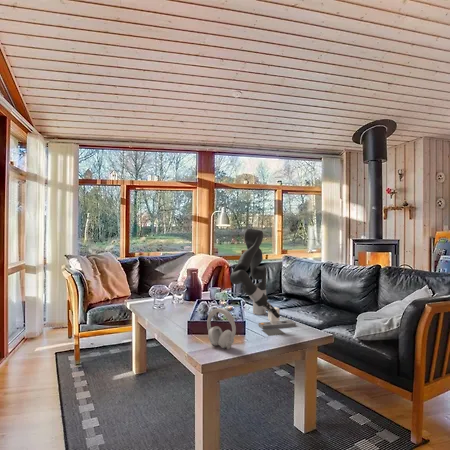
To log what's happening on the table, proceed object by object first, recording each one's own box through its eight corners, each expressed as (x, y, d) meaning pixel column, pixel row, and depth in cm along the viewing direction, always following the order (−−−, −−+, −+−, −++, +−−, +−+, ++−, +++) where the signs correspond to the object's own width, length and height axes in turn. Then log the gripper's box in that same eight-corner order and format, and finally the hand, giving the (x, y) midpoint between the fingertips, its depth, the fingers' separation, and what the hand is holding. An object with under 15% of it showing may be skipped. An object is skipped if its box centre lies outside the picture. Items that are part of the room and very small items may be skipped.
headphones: (202, 344, 193) (202, 306, 193) (213, 340, 199) (213, 304, 199) (229, 353, 180) (229, 313, 180) (239, 349, 186) (240, 310, 186)
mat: (261, 331, 216) (261, 330, 216) (278, 329, 219) (278, 328, 219) (268, 336, 206) (268, 335, 206) (286, 335, 209) (286, 334, 209)
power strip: (258, 326, 225) (258, 322, 225) (290, 324, 231) (290, 319, 231) (262, 330, 218) (262, 325, 218) (295, 327, 224) (295, 322, 224)
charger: (268, 322, 214) (268, 307, 214) (275, 322, 215) (275, 307, 215) (271, 325, 209) (271, 309, 209) (279, 324, 211) (279, 309, 211)
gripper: (266, 293, 203) (286, 313, 207) (257, 289, 217) (275, 308, 221) (258, 303, 202) (277, 323, 205) (249, 298, 216) (267, 317, 219)
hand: (276, 315), depth 213 cm, fingers closed on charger, 5 cm apart
